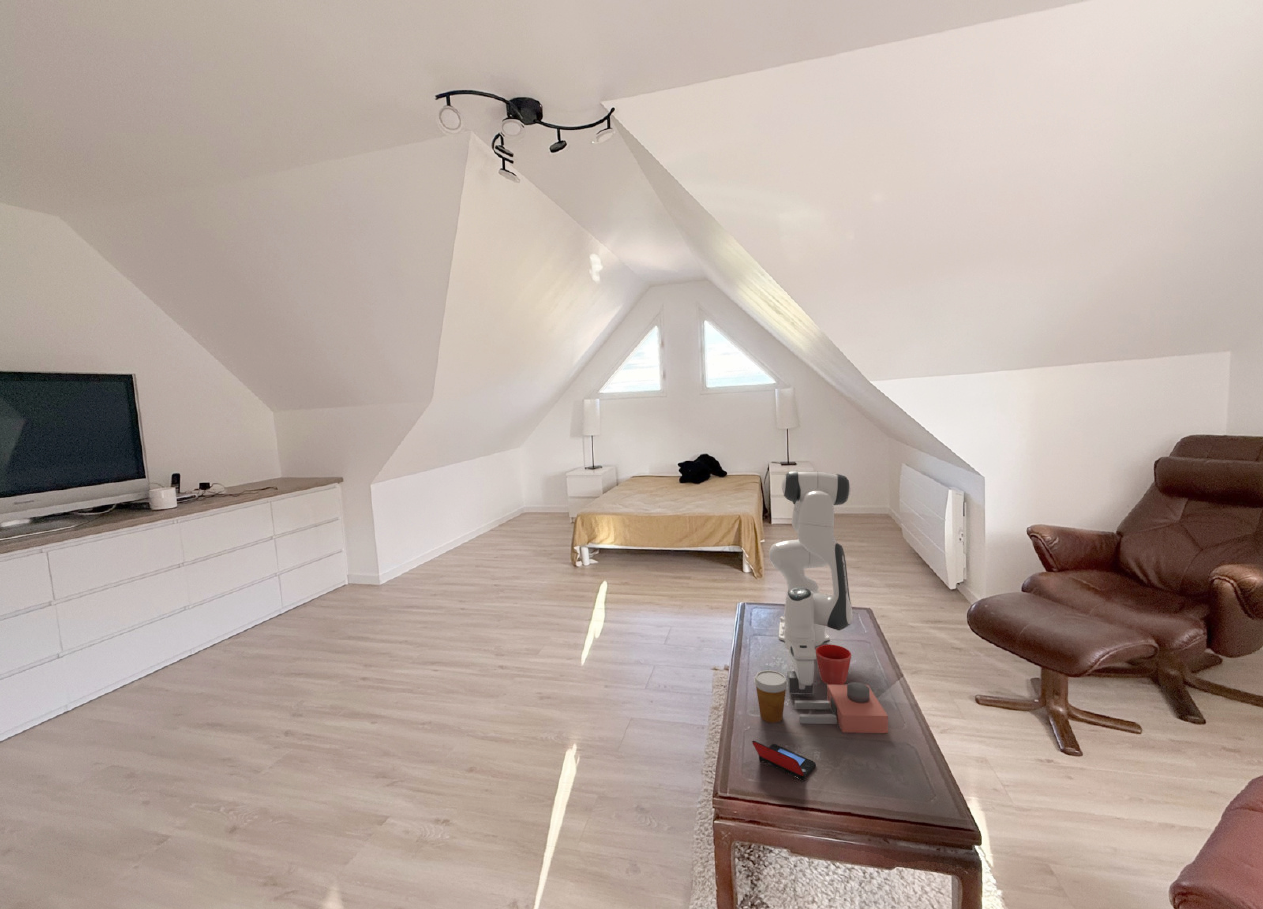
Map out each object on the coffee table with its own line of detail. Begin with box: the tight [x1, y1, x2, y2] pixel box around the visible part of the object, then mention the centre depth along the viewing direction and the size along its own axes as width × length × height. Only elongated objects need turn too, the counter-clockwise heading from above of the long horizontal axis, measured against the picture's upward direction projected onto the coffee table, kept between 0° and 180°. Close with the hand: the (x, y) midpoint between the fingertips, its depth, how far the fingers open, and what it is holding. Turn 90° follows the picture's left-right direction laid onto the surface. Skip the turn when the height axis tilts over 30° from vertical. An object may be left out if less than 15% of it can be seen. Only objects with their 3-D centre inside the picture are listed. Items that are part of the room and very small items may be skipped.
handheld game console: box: [751, 740, 817, 781], centre depth 135 cm, size 12×11×7 cm
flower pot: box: [815, 644, 852, 685], centre depth 174 cm, size 11×11×10 cm
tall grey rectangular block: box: [786, 670, 814, 695], centre depth 167 cm, size 4×7×5 cm, turn 83°
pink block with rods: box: [794, 681, 889, 734], centre depth 155 cm, size 16×22×8 cm
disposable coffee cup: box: [753, 669, 788, 724], centre depth 156 cm, size 10×10×12 cm
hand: (799, 683), depth 167 cm, fingers closed on tall grey rectangular block, 4 cm apart
